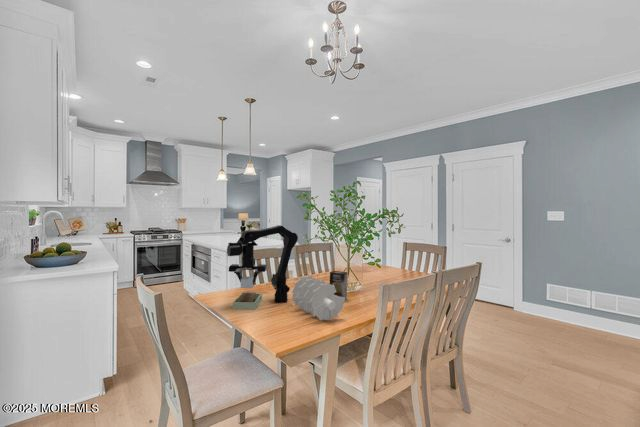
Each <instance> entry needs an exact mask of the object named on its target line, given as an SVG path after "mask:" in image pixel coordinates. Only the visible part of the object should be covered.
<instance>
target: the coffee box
mask: <svg viewBox="0 0 640 427" xmlns="http://www.w3.org/2000/svg"><path fill="white" fill-rule="evenodd" d="M329 283H330V284H331V285H334V286H335V289H336V292H335V293H334V295H337V296H338V297H344V298H345V301H346V300H347V299H348V271H342V270H341V271H340V270H331V271H330V272H329Z"/></svg>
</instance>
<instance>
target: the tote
mask: <svg viewBox="0 0 640 427" xmlns="http://www.w3.org/2000/svg"><path fill="white" fill-rule="evenodd" d="M242 293H243V292H241V293H240V294H239V295H238V296H237V297H236V298H235V300H233V302H232V310H251V311H254V310H257V308H258V307H259V305H260V303H261V302H262V300H263V293H262V292H261V293H260V292H258V293H257V292H256V301H255V302H239V296H240V295H241V294H242Z"/></svg>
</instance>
